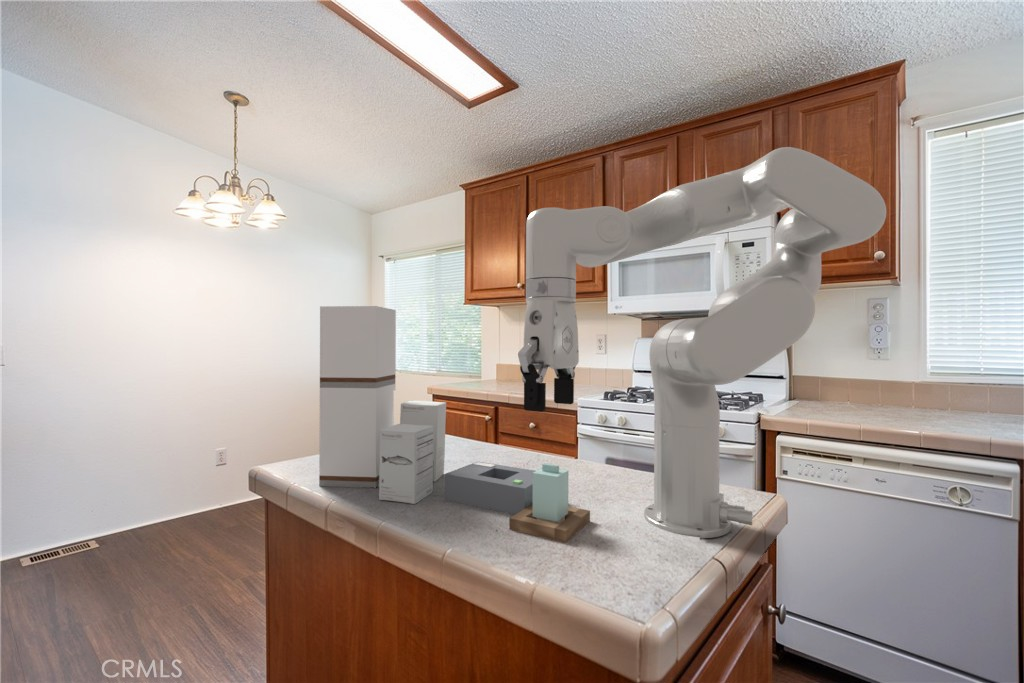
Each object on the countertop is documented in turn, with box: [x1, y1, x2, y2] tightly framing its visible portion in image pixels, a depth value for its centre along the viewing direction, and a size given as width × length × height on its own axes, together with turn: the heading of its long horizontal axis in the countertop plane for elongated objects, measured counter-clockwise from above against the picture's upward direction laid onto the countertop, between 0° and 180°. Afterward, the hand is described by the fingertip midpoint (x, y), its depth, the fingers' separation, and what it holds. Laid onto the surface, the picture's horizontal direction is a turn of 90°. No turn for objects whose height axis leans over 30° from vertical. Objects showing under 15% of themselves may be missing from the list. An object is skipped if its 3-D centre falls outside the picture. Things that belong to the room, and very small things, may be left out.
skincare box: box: [399, 400, 447, 483], centre depth 98 cm, size 8×7×16 cm
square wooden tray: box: [508, 504, 591, 544], centre depth 70 cm, size 9×9×2 cm
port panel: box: [444, 461, 536, 516], centre depth 82 cm, size 16×10×5 cm, turn 59°
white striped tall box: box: [318, 305, 397, 489], centre depth 96 cm, size 11×11×35 cm
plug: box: [533, 462, 569, 524], centre depth 70 cm, size 4×4×9 cm
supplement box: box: [378, 423, 434, 505], centre depth 85 cm, size 7×7×13 cm
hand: (550, 406), depth 70 cm, fingers open, 9 cm apart
